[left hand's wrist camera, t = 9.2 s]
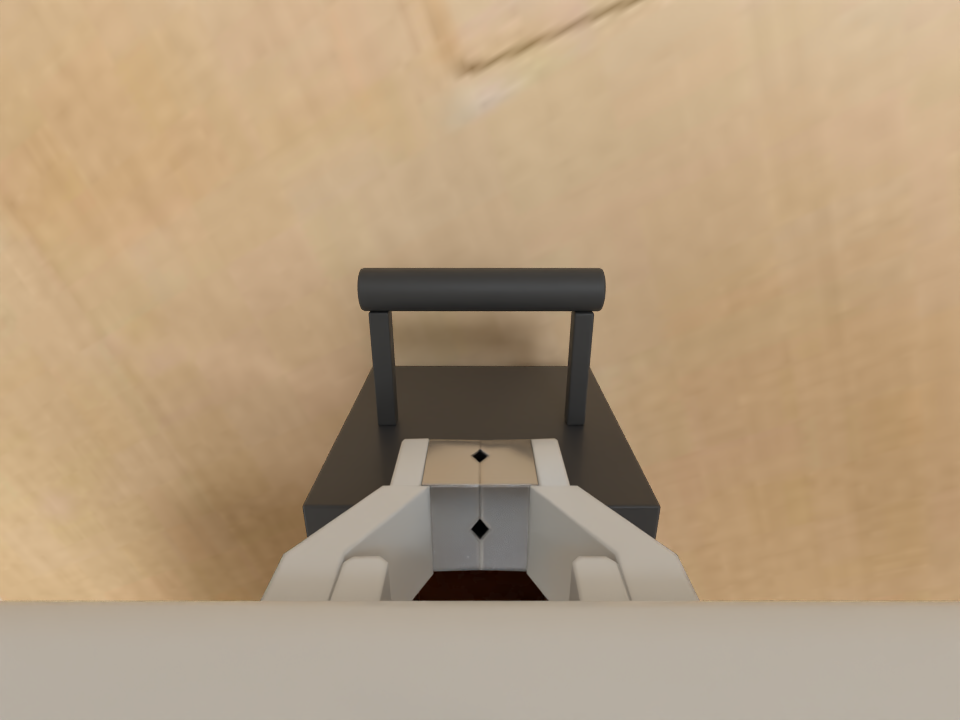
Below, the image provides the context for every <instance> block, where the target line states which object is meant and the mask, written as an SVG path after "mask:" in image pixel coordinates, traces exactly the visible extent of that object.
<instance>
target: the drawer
mask: <svg viewBox="0 0 960 720" xmlns="http://www.w3.org/2000/svg"><path fill="white" fill-rule="evenodd" d="M605 291H606V283H605V276H604V272H603V270H602V269H600V268H363V269H361V270H360V272H359V276H358V299H359V304H360V307H361V309H362V310H364V311H370V312H369V323H370V335H371V347H372V359H373V367H372V369H371V371H370V373H369V375H368V377H367V379H366V381H365V383H364V385H363V387H362V389H361V391H360V393H359V395H358V397H357V399H356V401H355V403H354V405H353V407H352V409H351V411H350V413H349V415H348V417H347V419H346V421H345V423H344V425H343V427H342V429H341V431H340V433H339V435H338V437H337V439H336V441H335V443H334V445H333V447H332V449H331V451H330V453H329V455H328V457H327V459H326V461H325V463H324V465H323V467H322V469H321V471H320V473H319V475H318V477H317V479H316V481H315V483H314V485H313V487H312V489H311V491H310V493H309V495H308V497H307V499H306V501H305V503H304V505H303V513H304V519H305V525H306V532H307V538H308V537H309V536H310V535H312V534H313V533H315V532H316V531H318V530H319V529H321V528H322V527H324V526H325V525H326V524H328V523H329V522H331V521H332V520H334V519H335V518H337V517H338V516H339V515H341V514H342V513H344V512H345V511H347V510H348V509H350V508H351V507H353V506H354V505H355V504H357V503H358V502H360V501H361V500H363V499H364V498H366V497H367V496H368V495H370V494H371V493H373V492H374V491H376V490H377V489H379V488H380V487H382V486H390V484H391V480H392V476H393V473H394V469H395V465H396V462H397V458H398V454H399V451H400V447H401V444H402V441H403V440H404V439H426V438H428V439H429V440H430V439H461V440H513V439H550V438H555V439H556V440H558V444H559V448H560V451H561V455H562V459H563V462H564V466H565V469H566V473H567V477H568V480H569V484H570V486H578V487H580V488H581V489H583V490H584V491H586V492H587V493H589V494H590V495H591V496H593V497H594V498H596V499H597V500H599V501H600V502H602V503H603V504H604V505H606V506H607V507H609V508H610V509H612V510H613V511H615V512H616V513H617V514H619V515H620V516H622V517H623V518H625V519H626V520H628V521H629V522H630V523H632V524H633V525H635V526H636V527H638V528H639V529H641V530H642V531H643V532H645V533H646V534H648V535H649V536H651V537H652V538H654V539H655V538H656V532H657V526H658V520H659V513H660V505H659V503H658V501H657V499H656V497H655V495H654V493H653V491H652V489H651V487H650V485H649V483H648V481H647V479H646V477H645V475H644V473H643V471H642V469H641V467H640V465H639V463H638V461H637V459H636V458H635V456H634V454H633V452H632V450H631V448H630V446H629V444H628V442H627V440H626V438H625V436H624V434H623V432H622V430H621V428H620V426H619V424H618V422H617V420H616V418H615V416H614V414H613V412H612V410H611V408H610V406H609V404H608V402H607V400H606V398H605V396H604V394H603V393H602V391H601V389H600V387H599V385H598V383H597V381H596V379H595V377H594V375H593V373H592V371H591V369H590V356H591V344H592V332H593V321H594V313H593V312H592V311H600V310H601V309H602V307H603V304H604V300H605ZM391 311H572V314H571V328H570V342H569V357H568V366H395V358H394V343H393V328H392V313H391ZM412 601H548V599H547V598H546V597H545V596H544V594H543V593H542V592H541V591H540V589H539V588H538V587H537V586H536V584H535V583H534V582H533V581H532V579H531V578H530V577H529V576H528V574H527V571H496V570H463V571H433V575H432V576H431V577H430V579H429V580H428V581H427V582H426V584H425V585H424V586H423V587H422V589H421V590H420V591H419V592H418V594H417V595H416V596H415V597H414V599H413V600H412Z"/></svg>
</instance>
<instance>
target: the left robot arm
mask: <svg viewBox="0 0 960 720" xmlns="http://www.w3.org/2000/svg"><path fill="white" fill-rule="evenodd" d="M463 570H496V571H527V574H528V576H529V577H530V578H531V579H532V581H533V582H534V583H535V584H536V586H537V587H538V588H539V589H540V591H541V592H542V593H543V594H544V596H545V597H546V598H547V599H548V601H412V600H413V599H414V597H415V596H416V595H417V594H418V592H419V591H420V590H421V589H422V587H423V586H424V585H425V584H426V582H427V581H428V580H429V579H430V577H431V576H432V575H433V571H463ZM0 720H960V601H700V600H699V598H698V596H697V594H696V592H695V590H694V588H693V586H692V584H691V582H690V580H689V578H688V576H687V574H686V572H685V570H684V568H683V566H682V564H681V562H680V560H679V558H678V556H677V554H675V553H674V552H672V551H671V550H669V549H668V548H667V547H665V546H664V545H662V544H661V543H659V542H658V541H656V540H655V539H654V538H652V537H651V536H649V535H648V534H646V533H645V532H643V531H642V530H641V529H639V528H638V527H636V526H635V525H633V524H632V523H630V522H629V521H628V520H626V519H625V518H623V517H622V516H620V515H619V514H617V513H616V512H615V511H613V510H612V509H610V508H609V507H607V506H606V505H604V504H603V503H602V502H600V501H599V500H597V499H596V498H594V497H593V496H591V495H590V494H589V493H587V492H586V491H584V490H583V489H581V488H580V487H578V486H570V484H569V480H568V477H567V473H566V469H565V466H564V462H563V459H562V455H561V451H560V448H559V444H558V440H556V439H555V438H550V439H513V440H461V439H430V440H429V439H428V438H426V439H404V440H403V441H402V444H401V447H400V451H399V454H398V458H397V462H396V465H395V469H394V473H393V476H392V480H391V484H390V486H382V487H380V488H379V489H377V490H376V491H374V492H373V493H371V494H370V495H368V496H367V497H366V498H364V499H363V500H361V501H360V502H358V503H357V504H355V505H354V506H353V507H351V508H350V509H348V510H347V511H345V512H344V513H342V514H341V515H339V516H338V517H337V518H335V519H334V520H332V521H331V522H329V523H328V524H326V525H325V526H324V527H322V528H321V529H319V530H318V531H316V532H315V533H313V534H312V535H310V536H309V537H308V538H306V539H305V540H303V541H302V542H300V543H299V544H297V545H296V546H295V547H293V548H292V549H290V550H289V551H287V552H286V553H284V554H283V556H282V558H281V560H280V562H279V564H278V566H277V568H276V570H275V572H274V574H273V576H272V578H271V580H270V582H269V584H268V586H267V588H266V590H265V592H264V594H263V596H262V598H261V600H260V601H0Z"/></svg>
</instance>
